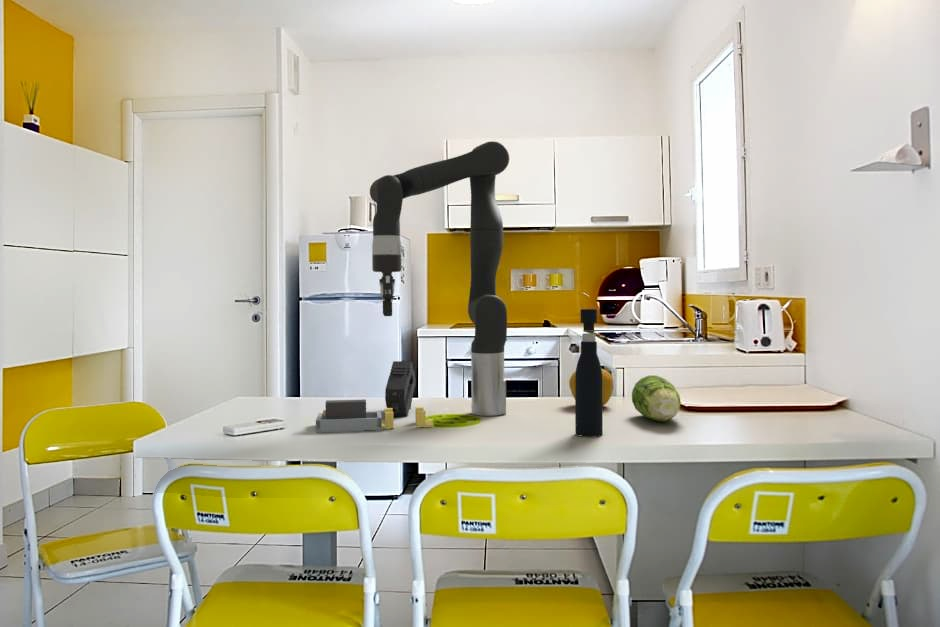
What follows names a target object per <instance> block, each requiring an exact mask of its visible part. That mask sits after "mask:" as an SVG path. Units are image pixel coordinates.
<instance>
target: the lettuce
mask: <svg viewBox="0 0 940 627" xmlns="http://www.w3.org/2000/svg"><path fill="white" fill-rule="evenodd" d="M680 396H681V395H680V393H679V392H678V391H677V388H676V387H675V386H674V384H672V383H671V382H669V381H668V380H667V379H666V378H664V377H661V376H658V375H647V376H644V377H642V378H640V379H639V380H638V381H637V382H635V384H634V387H633V388H632V391H631V402H632V404H633V406H634V408H635V410H636V411H638V412H639V413H640V415H642V416H643V417H645V418H647V419H649V420H652V421H656V422H665V421H670V420H671V419H673V418H674V417H676V416H677V414H678V413H679V411H680V407H681V403H682V401H681V397H680Z"/></svg>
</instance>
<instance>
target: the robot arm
mask: <svg viewBox="0 0 940 627" xmlns="http://www.w3.org/2000/svg"><path fill="white" fill-rule="evenodd" d="M509 163H510V152H509V150H508V149H507V147H506V146H505V145H504V144H502V143H501V142H498V141H495V140H494V141H493V140H492V141H486V142H484V143H481V144H480V145H478V146H476V147H474V148H473V149H472V150H471V151H469V152H467V153H463V154H461V155H459V156H458V155H457V156H455V157H452V158H448V159H447V158H446V159H443V160H438V161H435V162H431V163H427V164H424V165H420V166H416V167H412V168H410V169H408V170H406V171H403V172H402V173H396V174H392V175H391V174H387V175H383V176H382V177H379V178H377V179H376V180H374V181H373V182H372V184H371V185H370V187H369V196H370V199H371V200H372V201H373V202H374V203H376V212H375V215H374V217H373V219H372V242H371V243H372V244H371V245H372V246H371V251H372V252H371V254H372V256H371V258H372V259H371V260H372V266H371V267H372V271H373V272H374V273H381V274H382V276H381V278H379V287H380V289H379V291H380V292H379V293H380V295H381V300H382V315H383V316H384V317H392V316H393V301H394V295H395V286H396V280H395V278H394V276H393V273H398V272H401V271H402V242H401V241H402V240H401V221H400V220H401V219H400V218H401V213H402V209H403V208H402V206H403V201H404V200H403V199H407V198H410V197H413V196H414V197H415V196H418V195H422V194H426V193H429V192H432V191H435V190H437V189H440V188H443V187H446V186H449V185H450V184H453V183H456V182H459V181H462V180H465V179H467V178H468V179H469V185H470V226H469V227H470V229H469V230H470V232H469V234H470V237H469V240H470V242H469V243H470V244H469V245H470V288H469V295H468V304H467V314H468V317H469V319H470V321H471V323H473V324H474V337H473V340H472V342H471V345H470V348H471V350H470V354H471V356H470V359H471V360H470V361H471V362H470V363H471V365H470V366H471V367H470V368H471V371H470V372H471V374H470V375H471V377H470V378H471V379H470V380H471V381H470V382H471V384H470V385H471V388H470V389H471V414H473V415H476V416H482V417H483V416H487V417H488V416H490V417H491V416H499V415H506V414H507V381H506V379H505V345H506V343H507V339H508V338H507V335H508V334H507V332H508V310H507V305H506V303H505V301H504V300H503V299H502V298H500V297H499V296H497V295H496V294H497V293H496V279H497V273H498V272H497V271H498V269H499V265H500V261H501V257H502V254H503V248H504V223H503V219H502V215H501V212H500V209H499V207H498V204H497V200H496V176H497V175H500V174H501V173H502V172H504V171H505V170H506V169H507V167H508V166H509Z"/></svg>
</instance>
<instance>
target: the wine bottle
mask: <svg viewBox="0 0 940 627" xmlns="http://www.w3.org/2000/svg"><path fill="white" fill-rule="evenodd" d="M580 323H581V324H583V329H582V332H584V333H582V335H581V337H582V338H581V340H582V341H580V355H579V358H578V361H577V364H576V369H575V371H576V373H575V399H574V401H575V402H574V405H575V408H574V409H575V412H574V415H575V416H574V418H575V430H574V431H575V433H576V434H577V435H576V434H575V435H576V436H578V435H582V436H598V437H600V436H599V435H602V436H603V428H604V427H603V424H604V422H603V406H602V369H603V368H602V365H601V362H600V358H599V356H598V343H597V341H596V333H593V332H595V324H597V323H598V309H596V308H582V309H580ZM582 436H581V437H582Z"/></svg>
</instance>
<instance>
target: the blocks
mask: <svg viewBox="0 0 940 627" xmlns="http://www.w3.org/2000/svg"><path fill="white" fill-rule="evenodd" d="M414 415H415V424H416V428H417V429H419V428H418V427H425V428H426V427H432V428H435V424H434V422H433V420H432V419H426V410H424V406H417V407H415V414H414ZM394 418H395V416H393V408H387V407H386V408H384V420H383V421H382V430H391V429H390V428H394V427H395V426H394V425H395V424H394ZM425 425H426V426H425Z"/></svg>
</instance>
